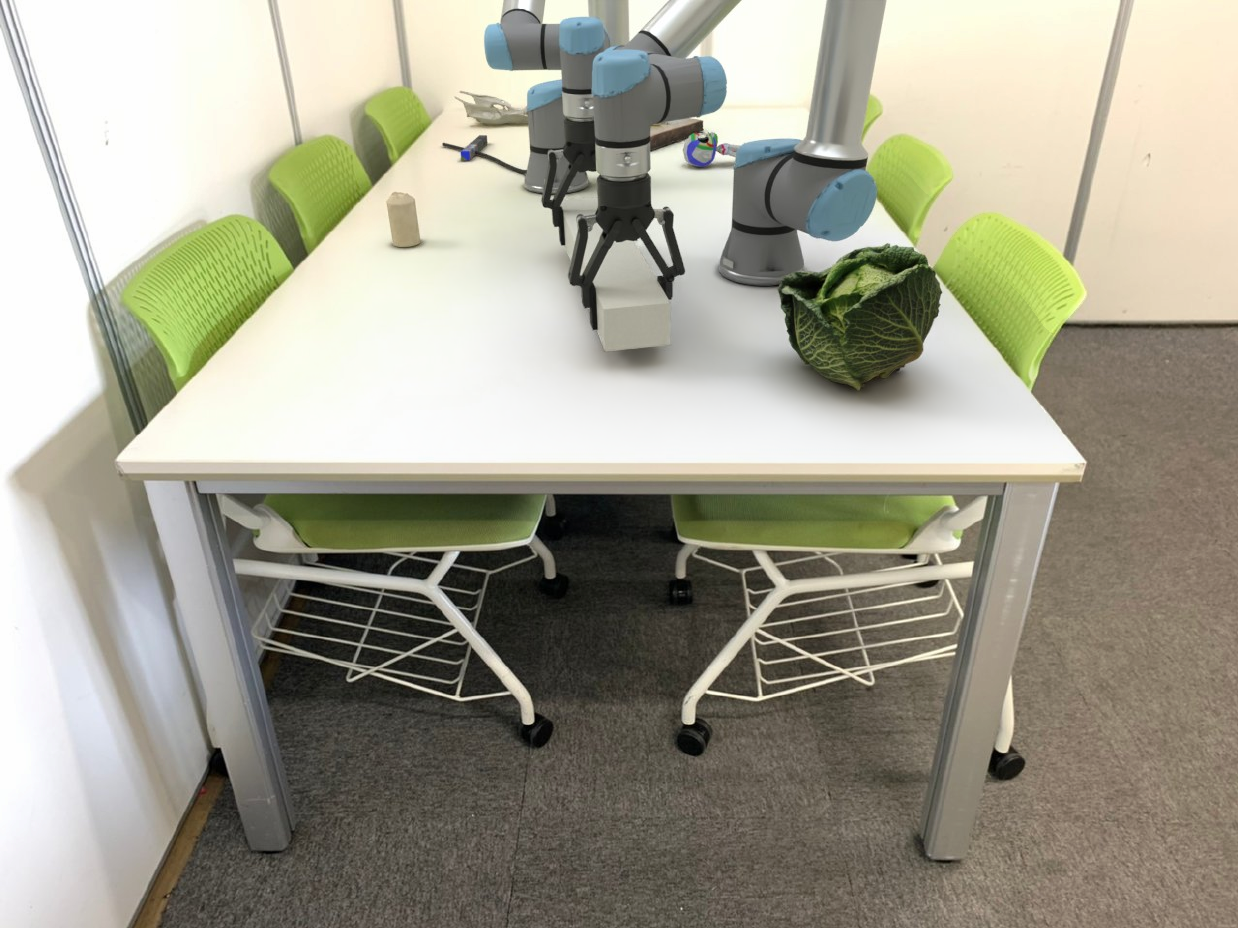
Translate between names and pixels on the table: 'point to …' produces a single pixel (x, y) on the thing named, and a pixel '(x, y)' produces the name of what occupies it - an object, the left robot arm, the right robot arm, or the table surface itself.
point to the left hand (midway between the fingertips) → (589, 241)
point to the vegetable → (862, 313)
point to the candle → (403, 219)
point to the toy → (705, 149)
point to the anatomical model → (493, 110)
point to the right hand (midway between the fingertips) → (628, 323)
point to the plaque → (673, 131)
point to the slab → (621, 287)
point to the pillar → (473, 147)
